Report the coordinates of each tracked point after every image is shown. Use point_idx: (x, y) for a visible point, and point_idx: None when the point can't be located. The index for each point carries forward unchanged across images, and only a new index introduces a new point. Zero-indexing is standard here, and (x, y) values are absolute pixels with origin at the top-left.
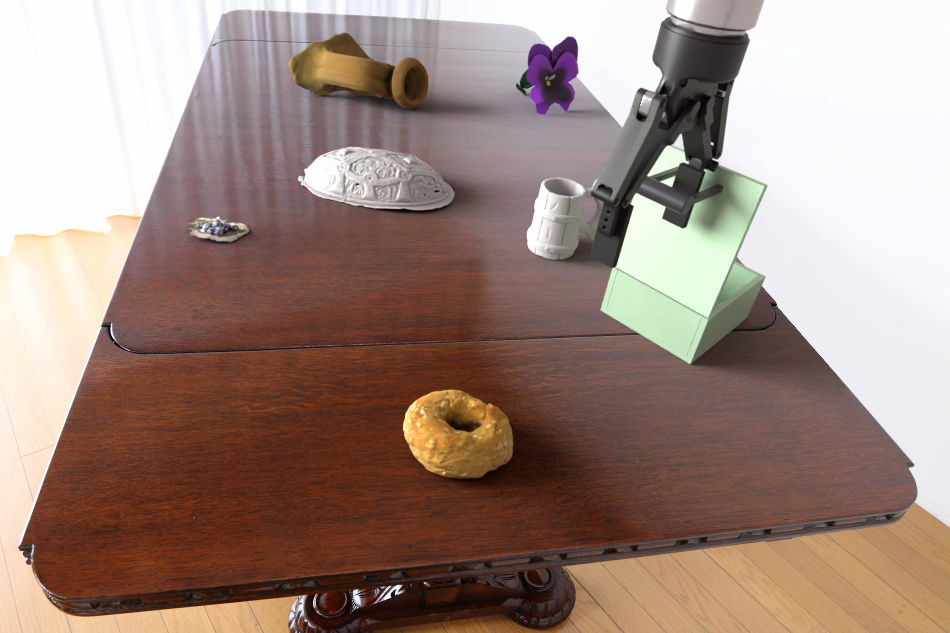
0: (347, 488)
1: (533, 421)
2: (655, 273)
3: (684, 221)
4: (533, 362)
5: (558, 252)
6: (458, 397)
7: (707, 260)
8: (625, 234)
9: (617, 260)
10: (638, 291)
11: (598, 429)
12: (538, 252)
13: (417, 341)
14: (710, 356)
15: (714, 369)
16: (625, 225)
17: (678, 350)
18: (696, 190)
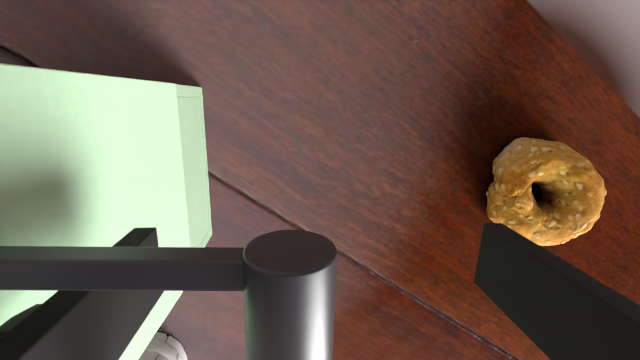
0: (617, 210)
1: (445, 159)
2: (174, 211)
3: (145, 240)
4: (367, 220)
5: (167, 345)
6: (534, 221)
7: (121, 137)
8: (556, 270)
9: (498, 230)
10: (190, 213)
11: (405, 103)
12: (184, 358)
13: (433, 312)
14: (156, 75)
15: (178, 56)
16: (610, 293)
17: (200, 111)
18: (68, 310)
